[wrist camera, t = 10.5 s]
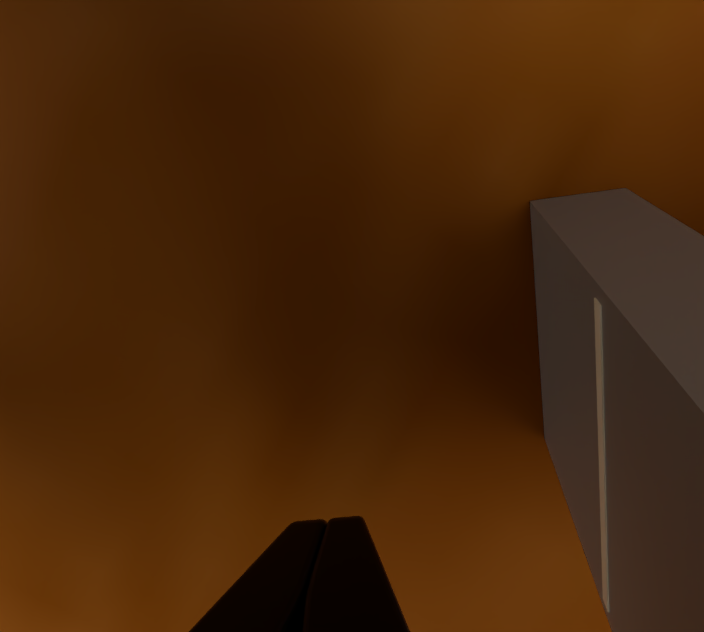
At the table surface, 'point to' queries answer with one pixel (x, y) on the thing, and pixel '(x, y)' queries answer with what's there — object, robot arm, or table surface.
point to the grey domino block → (626, 397)
